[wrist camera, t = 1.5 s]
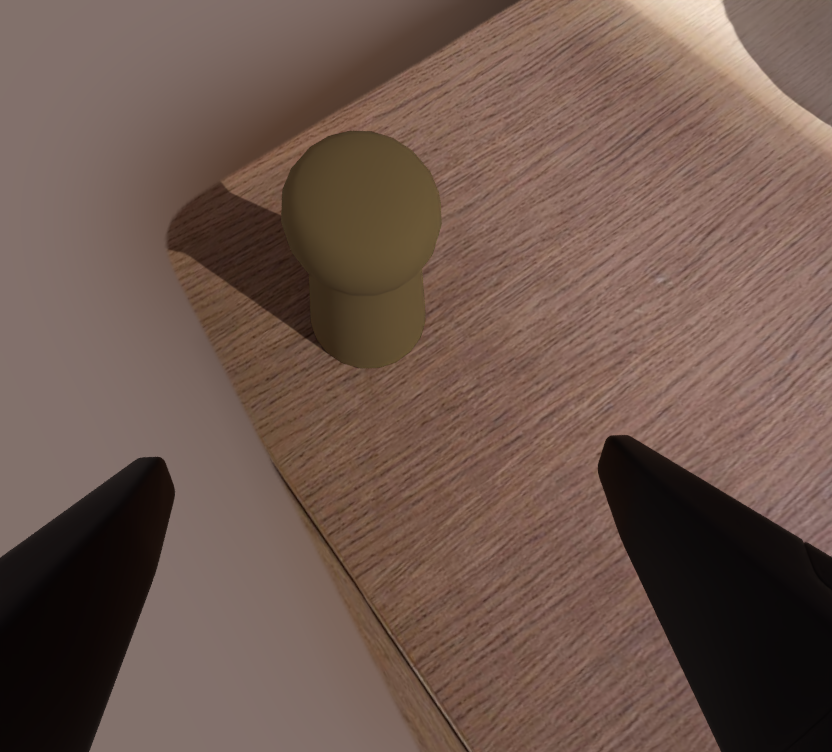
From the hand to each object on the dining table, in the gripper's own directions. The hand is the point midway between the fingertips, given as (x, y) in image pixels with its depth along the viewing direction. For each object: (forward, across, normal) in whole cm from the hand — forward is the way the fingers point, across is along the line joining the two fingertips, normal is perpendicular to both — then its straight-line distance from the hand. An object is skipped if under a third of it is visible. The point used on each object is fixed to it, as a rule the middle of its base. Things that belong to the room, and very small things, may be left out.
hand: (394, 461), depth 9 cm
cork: (+16, +1, +4) cm, 16 cm away
